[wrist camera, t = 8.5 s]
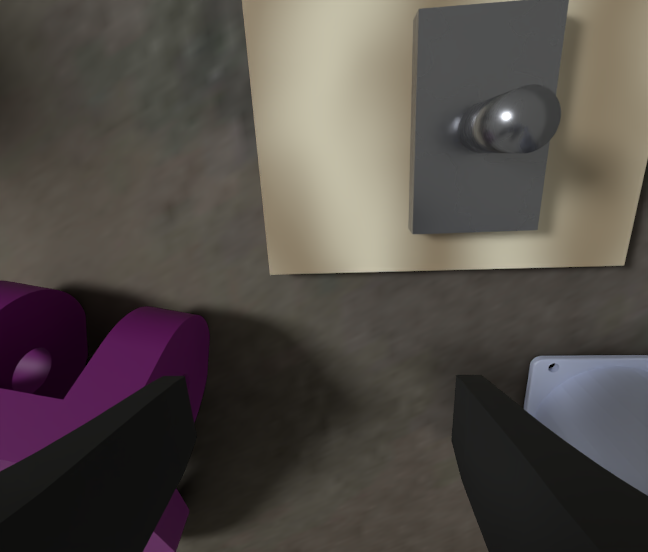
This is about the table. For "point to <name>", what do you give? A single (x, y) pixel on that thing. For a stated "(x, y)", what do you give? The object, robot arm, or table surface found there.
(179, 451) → the robot arm
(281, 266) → the board
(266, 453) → the table surface
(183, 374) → the mounting bracket
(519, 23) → the peg base
